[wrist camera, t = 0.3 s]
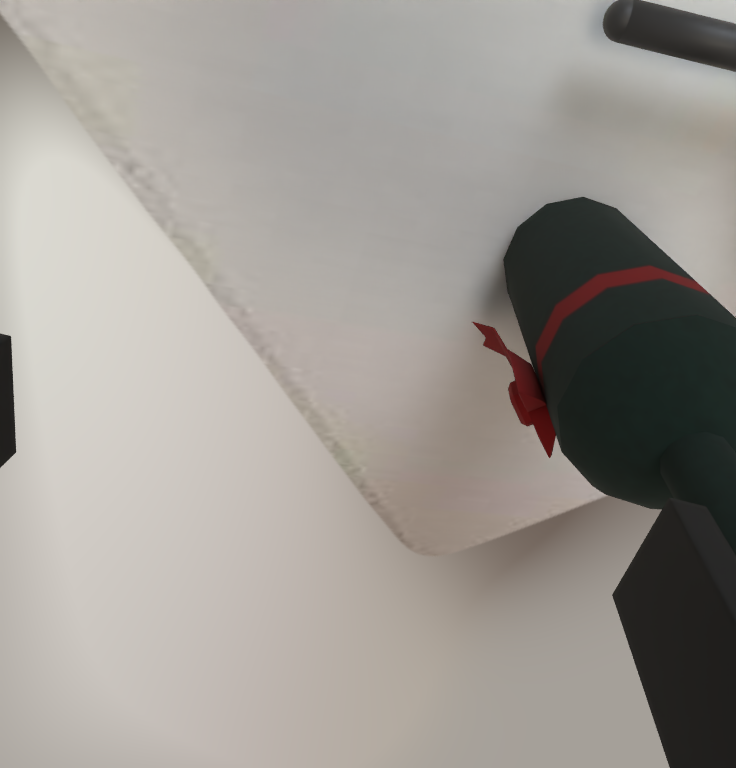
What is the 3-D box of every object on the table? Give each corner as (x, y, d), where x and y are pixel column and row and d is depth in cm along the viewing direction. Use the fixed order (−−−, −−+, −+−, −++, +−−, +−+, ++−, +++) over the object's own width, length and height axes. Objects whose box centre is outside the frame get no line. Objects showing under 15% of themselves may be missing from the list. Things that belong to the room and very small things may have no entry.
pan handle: (607, -6, 30) (617, -9, 28) (858, 57, 30) (882, 57, 28) (592, 37, 30) (601, 37, 29) (836, 98, 31) (859, 100, 29)
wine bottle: (447, 250, 38) (480, 699, 12) (614, 172, 35) (1147, 534, 9) (496, 357, 41) (612, 905, 15) (655, 293, 38) (1145, 831, 12)
